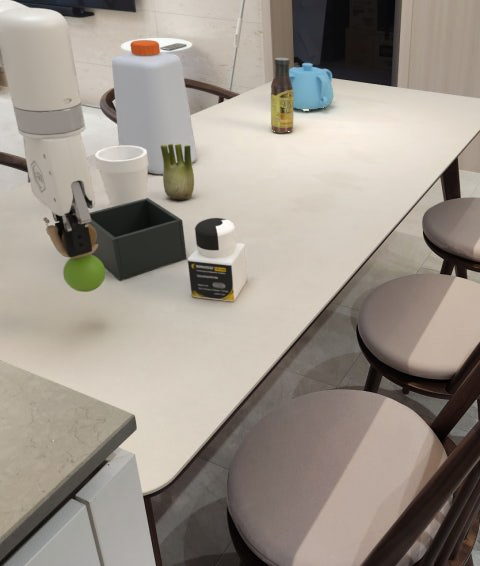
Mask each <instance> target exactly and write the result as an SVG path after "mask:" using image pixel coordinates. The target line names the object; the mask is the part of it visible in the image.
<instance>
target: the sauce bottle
mask: <svg viewBox="0 0 480 566" xmlns="http://www.w3.org/2000/svg"><path fill="white" fill-rule="evenodd" d="M290 63H291V62H290V58H288V57H275V58H274V65H275V68H274V75H275V76H274V78H273V79H272V81H271V84H270V125H271V131H272V130H273V131H275V132H274V133H276V132H288V131H291V130H292V129H293V130H294V108H293V88H292V84H291V81H290V77H289V69H290ZM293 130H292V131H293ZM273 131H272V132H273ZM292 131H291V132H292Z"/></svg>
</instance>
